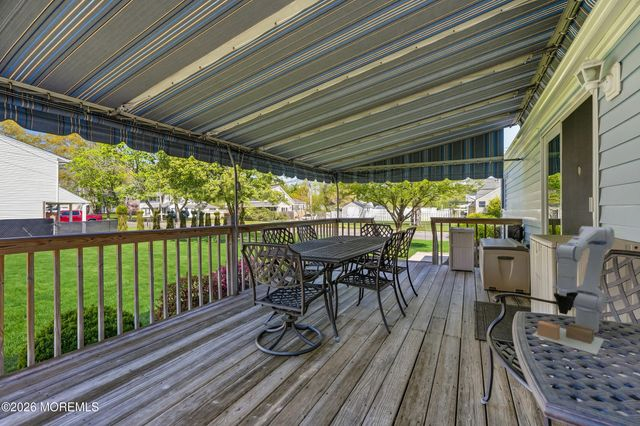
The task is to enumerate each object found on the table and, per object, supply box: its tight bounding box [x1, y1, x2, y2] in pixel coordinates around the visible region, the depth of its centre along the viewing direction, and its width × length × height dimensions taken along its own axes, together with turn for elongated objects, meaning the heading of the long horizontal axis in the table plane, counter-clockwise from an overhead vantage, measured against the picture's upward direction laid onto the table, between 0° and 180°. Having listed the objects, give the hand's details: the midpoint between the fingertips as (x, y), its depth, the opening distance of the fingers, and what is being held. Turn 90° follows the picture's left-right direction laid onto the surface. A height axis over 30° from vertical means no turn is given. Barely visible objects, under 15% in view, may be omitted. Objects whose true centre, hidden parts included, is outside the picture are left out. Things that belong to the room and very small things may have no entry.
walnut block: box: [565, 322, 595, 344], centre depth 109 cm, size 7×7×4 cm
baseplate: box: [531, 327, 605, 356], centre depth 110 cm, size 20×18×1 cm
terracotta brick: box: [536, 320, 561, 340], centre depth 110 cm, size 4×6×4 cm
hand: (565, 311), depth 110 cm, fingers open, 7 cm apart
